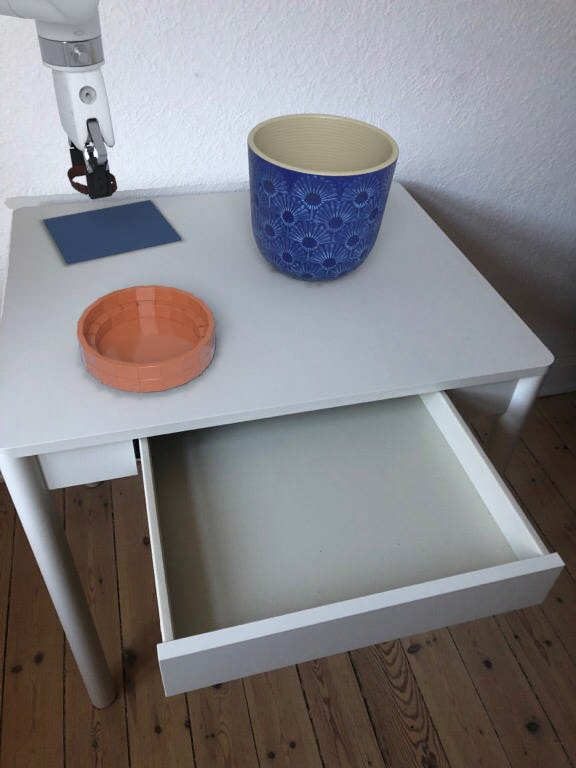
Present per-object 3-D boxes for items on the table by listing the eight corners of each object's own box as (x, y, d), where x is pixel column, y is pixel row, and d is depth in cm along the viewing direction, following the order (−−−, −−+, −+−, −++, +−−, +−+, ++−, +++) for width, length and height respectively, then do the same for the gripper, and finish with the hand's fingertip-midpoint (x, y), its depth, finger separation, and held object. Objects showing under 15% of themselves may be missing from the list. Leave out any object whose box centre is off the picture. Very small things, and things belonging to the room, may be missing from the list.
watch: (125, 190, 92) (123, 165, 89) (105, 202, 88) (101, 178, 86) (82, 177, 94) (78, 152, 91) (61, 189, 91) (56, 164, 88)
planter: (290, 216, 109) (298, 102, 96) (399, 256, 102) (423, 137, 89) (218, 268, 96) (216, 143, 83) (336, 317, 89) (355, 189, 76)
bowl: (106, 412, 73) (100, 383, 70) (67, 331, 83) (61, 303, 80) (235, 371, 79) (236, 343, 76) (185, 301, 89) (183, 274, 86)
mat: (67, 264, 94) (66, 262, 94) (43, 221, 103) (43, 219, 103) (180, 240, 101) (180, 237, 101) (150, 202, 110) (149, 199, 110)
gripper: (124, 68, 75) (138, 207, 87) (82, 29, 86) (100, 158, 98) (59, 74, 72) (84, 218, 84) (24, 33, 83) (50, 165, 95)
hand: (92, 184), depth 91 cm, fingers closed on watch, 6 cm apart
